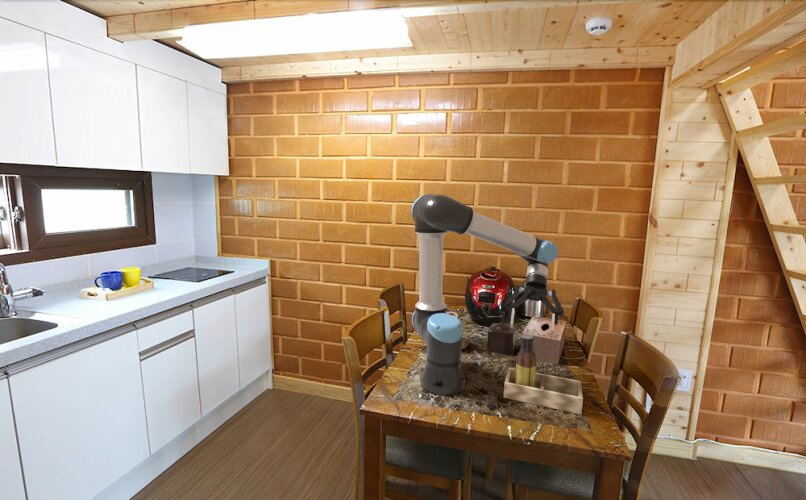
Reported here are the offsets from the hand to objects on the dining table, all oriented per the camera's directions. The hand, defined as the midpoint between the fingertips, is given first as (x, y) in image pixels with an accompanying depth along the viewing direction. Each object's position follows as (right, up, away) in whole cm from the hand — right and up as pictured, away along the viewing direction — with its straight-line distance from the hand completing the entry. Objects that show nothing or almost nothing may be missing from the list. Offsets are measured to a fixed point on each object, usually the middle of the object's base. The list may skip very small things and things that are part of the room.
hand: (531, 329), depth 131 cm
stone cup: (-24, -14, +30) cm, 41 cm away
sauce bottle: (-4, -20, -6) cm, 21 cm away
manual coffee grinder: (-5, -15, +30) cm, 34 cm away
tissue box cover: (+16, -15, +30) cm, 37 cm away
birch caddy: (+1, -20, -8) cm, 22 cm away
